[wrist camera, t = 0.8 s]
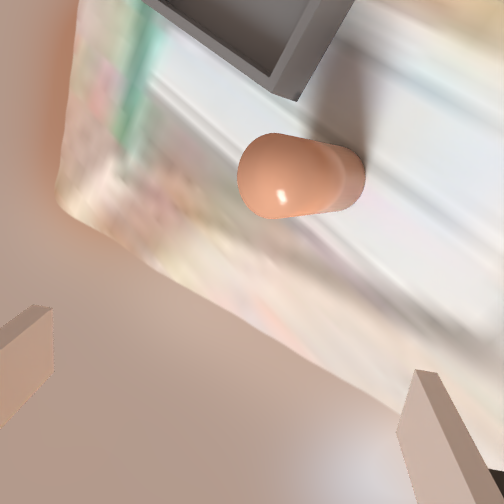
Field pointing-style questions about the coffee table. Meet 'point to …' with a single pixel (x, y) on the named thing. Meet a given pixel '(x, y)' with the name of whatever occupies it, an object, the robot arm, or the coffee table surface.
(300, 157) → the orange rounded cylinder
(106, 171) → the coffee table surface
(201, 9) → the bin
